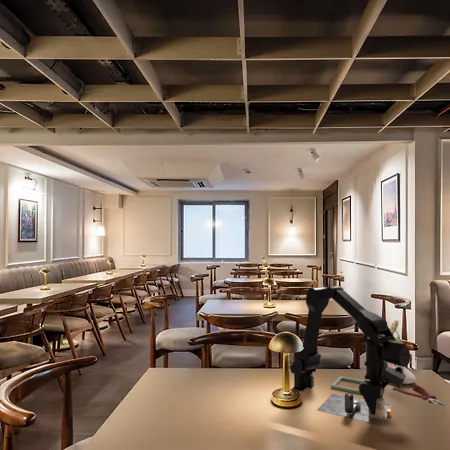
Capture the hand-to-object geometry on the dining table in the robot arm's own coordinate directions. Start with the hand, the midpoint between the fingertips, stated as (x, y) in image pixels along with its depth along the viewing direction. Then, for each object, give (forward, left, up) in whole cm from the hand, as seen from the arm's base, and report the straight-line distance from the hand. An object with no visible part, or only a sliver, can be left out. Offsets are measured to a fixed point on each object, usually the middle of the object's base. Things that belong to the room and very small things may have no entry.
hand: (376, 408), depth 124 cm
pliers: (+9, +25, -4) cm, 27 cm away
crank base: (-7, +3, -4) cm, 8 cm away
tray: (-13, +22, -4) cm, 25 cm away
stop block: (0, 0, -2) cm, 2 cm away
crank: (-7, -1, -2) cm, 7 cm away
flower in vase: (+1, +41, -4) cm, 41 cm away
